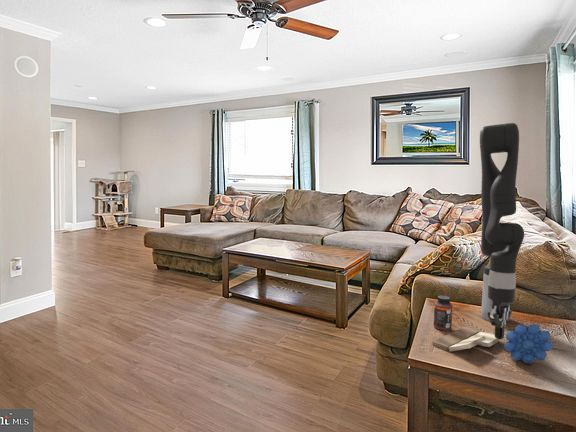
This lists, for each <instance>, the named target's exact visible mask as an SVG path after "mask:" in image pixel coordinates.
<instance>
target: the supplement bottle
mask: <svg viewBox="0 0 576 432" xmlns="http://www.w3.org/2000/svg"><path fill="white" fill-rule="evenodd" d="M450 301H451V298H450V296H446V295H438V296H437V301H436V302H435V303H434V309H433V311H434V312H433V327H434V328H435V329H437V330H440V331H450V330H451V329H452V325H453V323H452V322H453V308H454V307H453V304H452V303H451V302H450Z"/></svg>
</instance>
